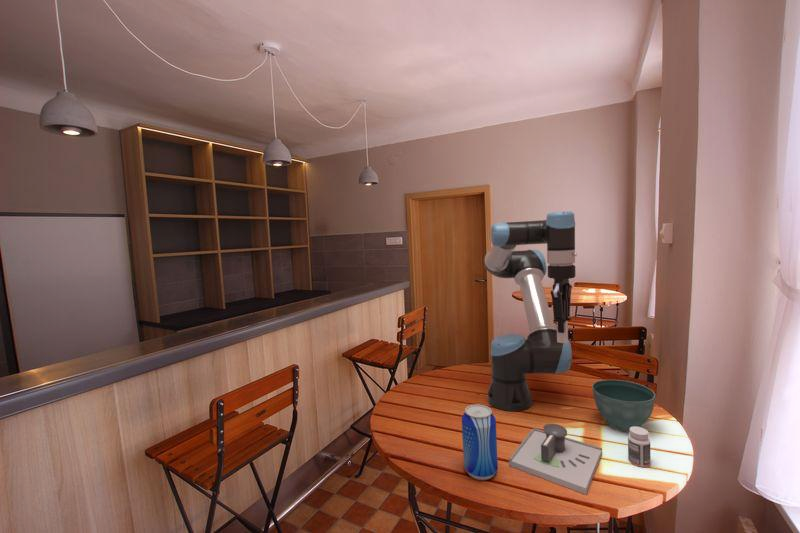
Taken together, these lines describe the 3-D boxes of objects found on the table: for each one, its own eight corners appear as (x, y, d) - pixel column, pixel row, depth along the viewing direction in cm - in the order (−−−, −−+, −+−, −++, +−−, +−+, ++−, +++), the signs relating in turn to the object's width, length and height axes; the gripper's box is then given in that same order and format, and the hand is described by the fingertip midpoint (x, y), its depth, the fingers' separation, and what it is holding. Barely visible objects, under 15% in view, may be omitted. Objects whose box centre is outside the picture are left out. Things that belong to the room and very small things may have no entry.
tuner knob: (547, 438, 100) (547, 421, 100) (570, 445, 96) (569, 427, 96) (533, 458, 91) (533, 440, 91) (557, 467, 88) (556, 447, 87)
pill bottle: (647, 457, 92) (646, 426, 91) (653, 469, 88) (653, 436, 87) (625, 454, 94) (625, 424, 93) (631, 466, 89) (630, 434, 89)
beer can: (460, 462, 94) (457, 404, 93) (491, 459, 95) (489, 401, 94) (469, 484, 86) (466, 420, 85) (502, 480, 87) (500, 417, 85)
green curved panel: (532, 459, 91) (532, 459, 91) (543, 443, 98) (543, 442, 98) (581, 476, 84) (581, 475, 84) (589, 457, 91) (589, 456, 91)
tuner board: (509, 465, 92) (508, 458, 92) (533, 433, 106) (533, 427, 106) (586, 494, 80) (585, 486, 80) (602, 454, 94) (601, 447, 94)
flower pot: (581, 421, 111) (580, 387, 110) (611, 406, 119) (611, 375, 118) (636, 445, 97) (636, 407, 96) (666, 427, 105) (666, 392, 104)
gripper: (568, 267, 98) (569, 350, 100) (580, 262, 108) (581, 338, 110) (540, 266, 103) (542, 346, 105) (554, 262, 112) (556, 335, 115)
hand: (562, 342), depth 107 cm, fingers closed
